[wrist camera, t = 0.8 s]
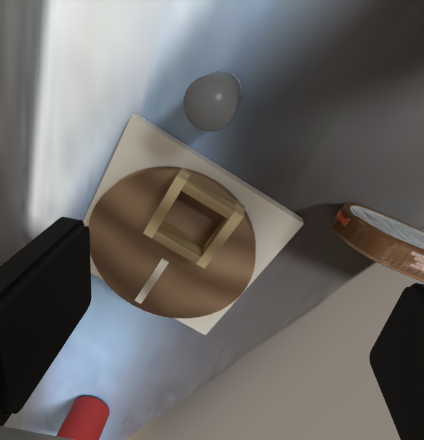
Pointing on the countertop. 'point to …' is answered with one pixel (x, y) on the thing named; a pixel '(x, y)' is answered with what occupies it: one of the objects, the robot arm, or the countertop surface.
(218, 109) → the grey rounded cylinder
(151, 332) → the countertop surface
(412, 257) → the tin
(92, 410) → the beer can
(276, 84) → the countertop surface
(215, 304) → the dial
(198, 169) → the dial base
